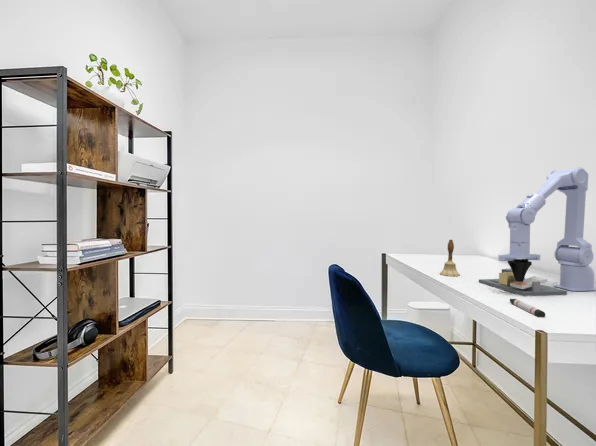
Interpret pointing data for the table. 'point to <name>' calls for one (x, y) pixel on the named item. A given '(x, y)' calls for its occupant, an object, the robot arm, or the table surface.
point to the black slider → (507, 270)
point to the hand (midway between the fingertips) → (519, 281)
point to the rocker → (527, 282)
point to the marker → (527, 308)
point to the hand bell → (450, 263)
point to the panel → (530, 291)
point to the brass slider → (506, 278)
